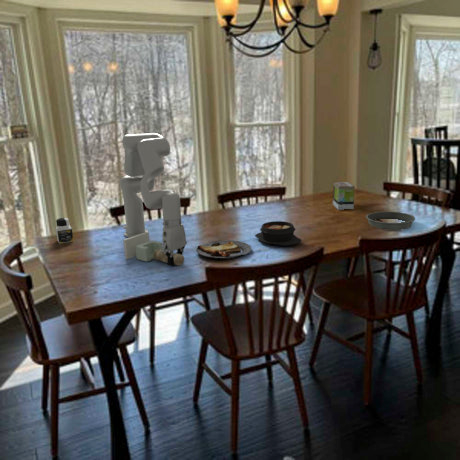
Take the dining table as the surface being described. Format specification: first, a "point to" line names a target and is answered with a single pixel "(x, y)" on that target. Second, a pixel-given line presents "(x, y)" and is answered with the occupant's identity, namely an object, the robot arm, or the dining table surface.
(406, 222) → the cake pan
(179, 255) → the dowel
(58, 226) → the black and yellow box
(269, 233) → the casserole
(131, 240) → the base
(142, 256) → the block
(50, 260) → the dining table surface
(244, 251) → the food plate
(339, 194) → the tea box
